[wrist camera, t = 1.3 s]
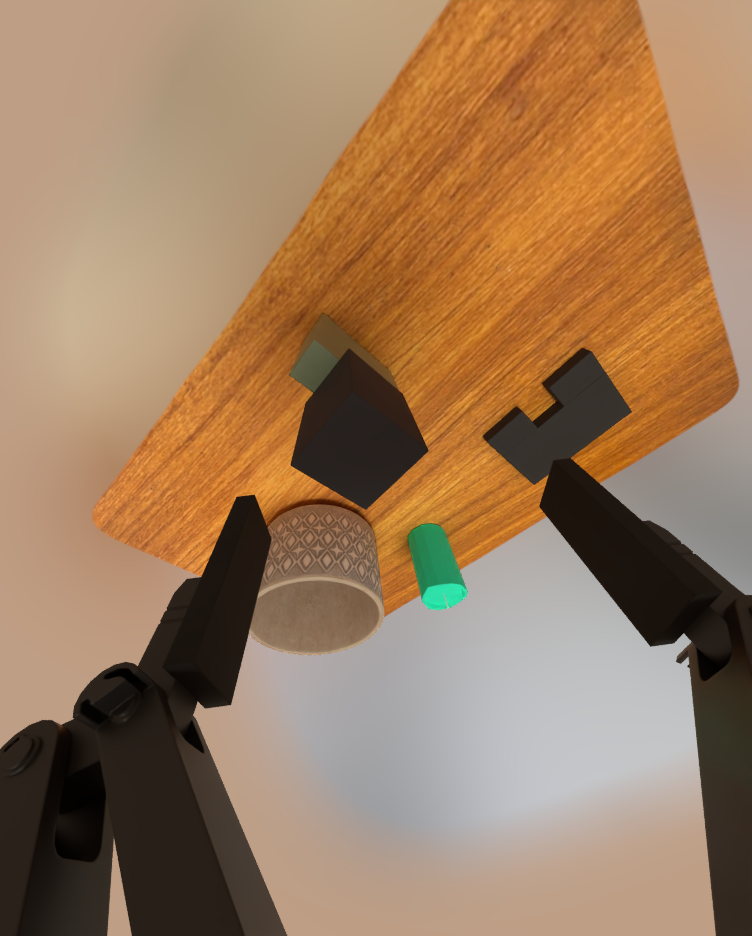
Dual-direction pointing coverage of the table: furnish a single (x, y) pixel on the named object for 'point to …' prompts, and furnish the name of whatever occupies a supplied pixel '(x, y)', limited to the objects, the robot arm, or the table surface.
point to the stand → (329, 354)
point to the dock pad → (561, 418)
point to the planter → (318, 583)
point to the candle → (436, 567)
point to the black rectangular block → (357, 433)
